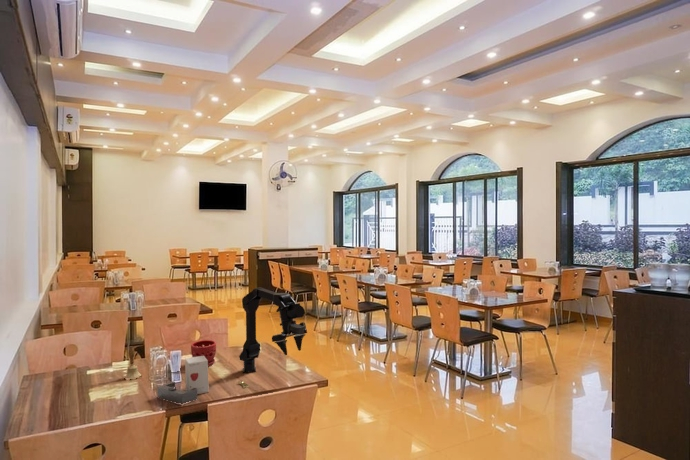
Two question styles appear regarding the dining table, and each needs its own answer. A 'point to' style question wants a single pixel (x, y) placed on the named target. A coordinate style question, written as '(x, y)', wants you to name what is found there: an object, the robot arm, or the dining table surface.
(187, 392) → the coupler mouth
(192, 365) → the supplement box
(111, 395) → the dining table surface
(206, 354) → the plant pot
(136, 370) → the hand bell
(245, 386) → the brass key
